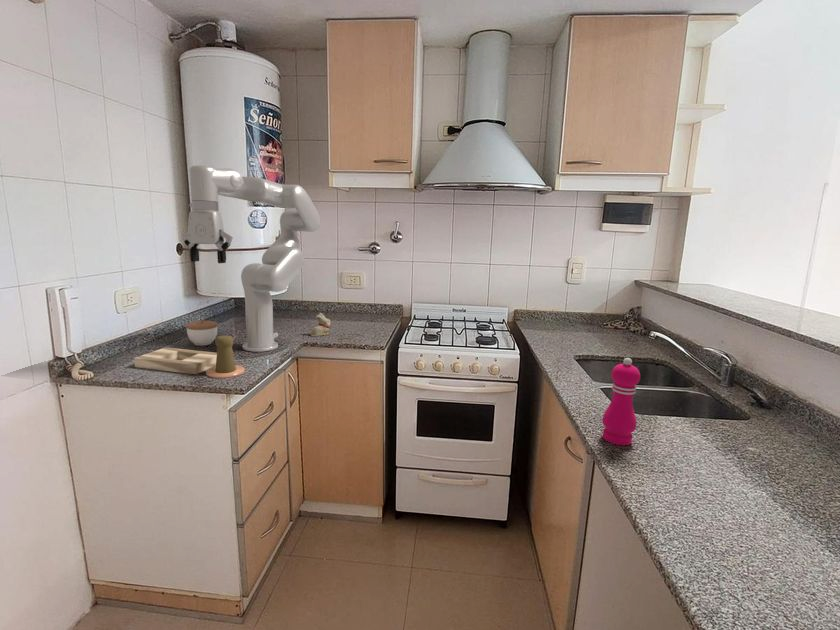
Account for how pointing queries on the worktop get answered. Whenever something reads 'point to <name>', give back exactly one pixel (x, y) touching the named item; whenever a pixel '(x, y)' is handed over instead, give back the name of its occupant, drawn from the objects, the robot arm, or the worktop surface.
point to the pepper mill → (621, 405)
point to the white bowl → (202, 332)
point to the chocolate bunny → (321, 325)
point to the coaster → (214, 374)
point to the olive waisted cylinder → (224, 355)
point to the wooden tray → (177, 360)
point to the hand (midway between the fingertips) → (208, 262)
